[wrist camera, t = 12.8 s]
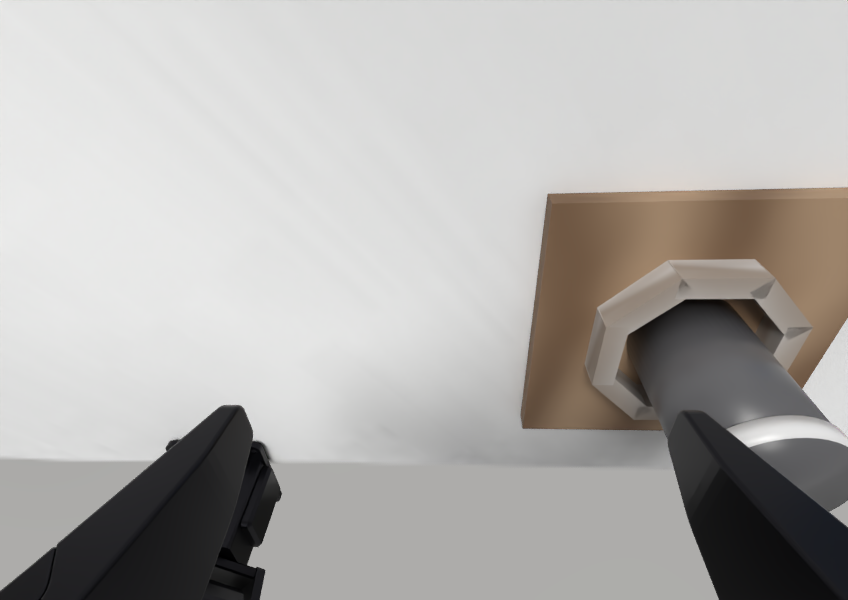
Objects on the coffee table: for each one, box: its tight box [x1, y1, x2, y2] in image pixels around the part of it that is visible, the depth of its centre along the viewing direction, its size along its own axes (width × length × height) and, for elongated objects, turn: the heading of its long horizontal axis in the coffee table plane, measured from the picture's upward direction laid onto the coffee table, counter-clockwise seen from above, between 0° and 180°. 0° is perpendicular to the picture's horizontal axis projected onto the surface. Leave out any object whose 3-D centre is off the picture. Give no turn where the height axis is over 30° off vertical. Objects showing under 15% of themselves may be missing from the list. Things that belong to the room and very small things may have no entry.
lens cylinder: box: [627, 299, 848, 512], centre depth 18 cm, size 5×5×8 cm
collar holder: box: [521, 188, 848, 430], centre depth 21 cm, size 14×14×2 cm
